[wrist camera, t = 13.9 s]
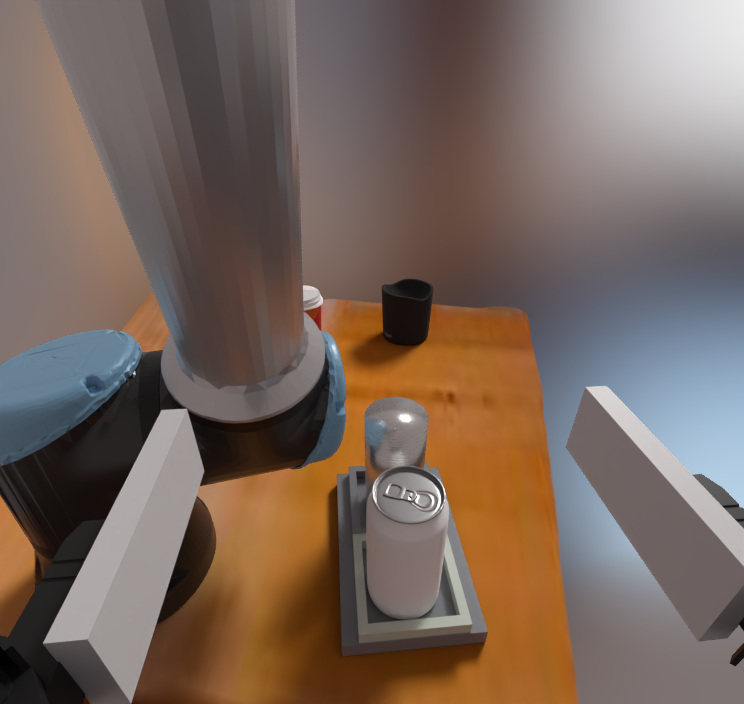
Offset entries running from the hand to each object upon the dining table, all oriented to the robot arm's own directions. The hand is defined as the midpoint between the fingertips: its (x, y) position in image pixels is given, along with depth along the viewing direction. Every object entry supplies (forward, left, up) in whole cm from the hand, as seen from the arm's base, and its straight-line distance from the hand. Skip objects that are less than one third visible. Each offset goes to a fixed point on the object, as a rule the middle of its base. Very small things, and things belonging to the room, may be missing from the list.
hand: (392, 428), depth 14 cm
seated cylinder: (+3, +21, -28) cm, 35 cm away
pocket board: (+3, +16, -30) cm, 34 cm away
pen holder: (+11, +62, -30) cm, 70 cm away
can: (+3, +11, -28) cm, 31 cm away
